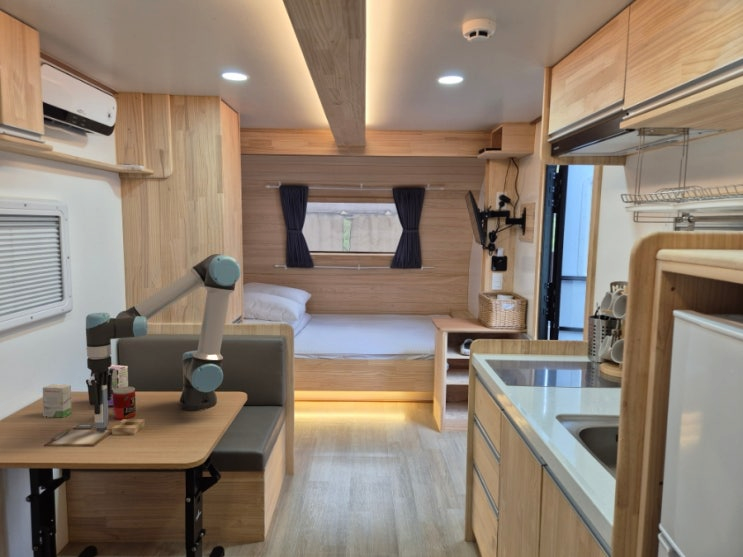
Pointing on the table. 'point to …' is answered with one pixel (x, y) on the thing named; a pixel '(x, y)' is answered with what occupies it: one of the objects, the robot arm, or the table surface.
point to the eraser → (103, 426)
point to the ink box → (56, 400)
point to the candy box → (118, 379)
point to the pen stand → (128, 427)
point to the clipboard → (78, 437)
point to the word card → (83, 426)
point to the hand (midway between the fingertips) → (101, 420)
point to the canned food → (124, 403)
